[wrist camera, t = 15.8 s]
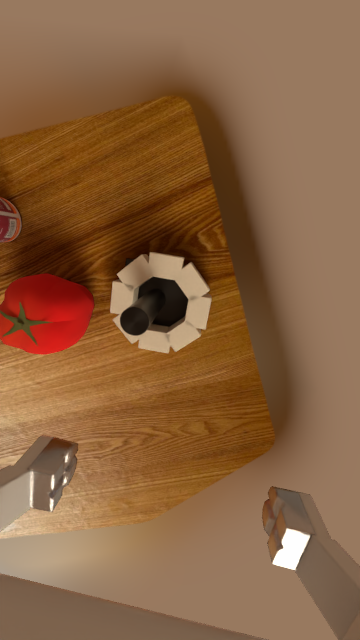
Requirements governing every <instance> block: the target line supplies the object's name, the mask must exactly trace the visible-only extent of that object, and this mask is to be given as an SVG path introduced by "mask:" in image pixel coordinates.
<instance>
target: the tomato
mask: <svg viewBox="0 0 360 640" xmlns="http://www.w3.org/2000/svg"><path fill="white" fill-rule="evenodd" d="M93 308H94V299H93V295H92V294H91V293H90V291H89V290H88V289H87V288H86V287H85V286H83V285H80V284H77V283H74V282H71V281H68V280H66V279H63V278H60V277H58V276H55V275H51V274H48V273H44V274H38V275H32V276H26V277H23V278H19V279H17V280H15V281H14V282H12V283H11V284H10V285H9V287H8V288H7V290H6V291H5V299H4V301H3V302H2V304H1V305H0V339H1V340H2V342H3V343H4V344H6V345H9V346H13V347H17V348H20V349H23V350H25V351H26V352H29V353H33V354H50V353H54V352H59V351H62V350H64V349H67V348H69V347H70V346H72V345H74V344H75V343H77V342H78V340H79V339H80V338H81V337H82V336H83V335H84V333H85V331H86V329H87V327H88V324H89V322H90V319H91V315H92V312H93Z"/></svg>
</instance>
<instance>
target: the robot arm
mask: <svg viewBox="0 0 360 640" xmlns="http://www.w3.org/2000/svg"><path fill="white" fill-rule="evenodd" d="M77 451H78V444H77V443H75V442H71V441H67V440H63V439H59V438H54V437H50V436H46V435H42V436H40V437H39V438H38V439H37V440H36V441H35V442H34V444H33V445H32V446H31V447H30V448H29V449H28V450H27V451H26V453H25V454H24V455H23V456H22V457H21V458H20V459H19V460H18V461H17V463H16V464H15V465H14V466H10V465H9V466H7V467H5V468H3V469H1V470H0V531H2V530H3V529H4V528H6V527H7V526H8V525H10V524H11V523H12V522H14V521H15V520H16V519H18V518H19V517H20V516H22V515H23V514H24V513H26V512H27V511H28V510H30V508H34V509H39V510H44V511H49V512H53V510H54V508H55V506H56V505H57V503H58V501H59V500H60V498H61V496H62V490H63V488H64V487H65V486H67V485H68V484H69V482H70V481H71V479H72V477H73V474H74V472H75V469H76V465H77V458H76V456H75V454H76V453H77ZM268 495H269V499H268V500H266V501H265V503H264V506H263V512H262V519H263V526H264V530H265V531H266V533H267V534H268V535H269V540H268V543H267V544H268V548H269V552H270V557H271V561H272V564H274V565H278V566H281V567H285V568H288V569H292V570H296V574H297V575H298V577H299V578H300V580H301V581H302V583H303V584H304V586H305V588H306V589H307V591H308V592H309V594H310V596H311V597H312V599H313V600H314V602H315V604H316V605H317V607H318V608H319V610H320V611H321V613H322V614H323V616H324V618H325V619H326V621H327V622H328V624H329V625H330V627H331V629H332V630H333V632H334V633H335V635H336V637H337V638H338V640H360V566H359V565H358V564H357V563H356V562H355V561H354V560H353V558H352V557H351V556H350V555H349V554H348V553H347V552H346V551H345V550H344V549H343V548H342V547H341V546H340V545H339V544H338V543H337V542H336V541H335V540H332V539H331V537H330V535H329V533H328V531H327V529H326V527H325V524H324V522H323V520H322V518H321V516H320V513H319V511H318V509H317V507H316V505H315V503H314V501H313V498H312V497H311V495H310V494H305V493H301V492H295V491H291V490H287V489H282V488H277V487H273V486H272V487H271V488H270V489H269V492H268ZM0 640H267V639H263V638H259V637H255V636H250V635H247V634H243V633H239V632H235V631H231V630H227V629H223V628H219V627H215V626H210V625H206V624H202V623H198V622H194V621H190V620H186V619H182V618H178V617H174V616H170V615H166V614H162V613H157V612H154V611H150V610H145V609H142V608H138V607H134V606H130V605H126V604H121V603H117V602H113V601H109V600H105V599H101V598H97V597H93V596H89V595H85V594H81V593H77V592H73V591H69V590H65V589H61V588H57V587H53V586H49V585H44V584H41V583H37V582H32V581H29V580H25V579H20V578H17V577H13V576H8V575H4V574H0Z"/></svg>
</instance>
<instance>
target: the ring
mask: <svg viewBox="0 0 360 640" xmlns="http://www.w3.org/2000/svg"><path fill="white" fill-rule="evenodd" d="M184 260H185V257H180V256H174V255H168V254H162V253H156V252H150V255H149V257H148V255H147V254H142V255H140V256H139V257H138V258H136V259H135V260H134V261H133V262H131V263H130V264H129V265H127V266H126V267H125V268H124V269H122V270H121V271H120V272H119V273H117V276H118V277H119V278H120V279H118V280H115V281H113V283H112V295H111V308H110V313H116V314H119V315H118V316H117V317H115V318H114V319H113V321H114V322H115V324H116V325H117V326H118V327H119V329H120V330H121V331H122V332H123V334H124V335H125V336H126V338H127V339H128V340H129V341H130V343H131V344H133V343H134V342H136V341H137V340H139V346H138V348H142V349H147V350H153V351H158V352H164V353H169V350H170V346H171V347H172V348H173V349H174V351H175V352H176V351H178V350H180V349H181V348H183V347H184V346H186V345H187V344H189V343H190V342H192V341H194V340H195V339H197V338H198V337H200V336H201V329H206V324H207V319H208V314H209V309H210V304H211V295H210V294H205V293H207V292H208V291H210V289H209V286H208V285H207V283H206V282H205V280H204V279H203V277H202V276H201V275H200V273H199V272H198V270H197V269H196V267H195V266H194V264H193V263H192V262H190V263H189V264H187V265H186V266H185V267H183V266H184ZM152 277H159V278H164V279H170V280H175V281H176V283H177V284H178V285H179V287H180V288H181V290H182V291H183V292H184V294H185V295H186V297H187V298H188V305H187V310H186V316H185V317H183V318H182V319H180V320H179V321H177V322H176V323H174V324H173V325H171V326H170V327H167V326H161V325H156V324H151V325H150V326H149V328H148V329H147V331H146V332H145V333H143V334H141V335H138V336H133V335H130V334H128V333H126V332H125V331H124V330H123V329H122V327H121V324H120V316H121V314H122V312H123V311H124V310H125V309H127V308H128V307H129V306H130V305H132V304H133V303H134V302H136V301H137V300H138V293H139V287H140V286H141V285H142V284H144V283H145V282H146V281H148V280H149V279H150V278H152Z"/></svg>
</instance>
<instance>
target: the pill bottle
mask: <svg viewBox="0 0 360 640" xmlns="http://www.w3.org/2000/svg"><path fill="white" fill-rule="evenodd" d="M21 227H22V222H21V217H20V214H19V212H18V210H17V209H16V207H15V206H14V205H13V204H12V203H11V202H9V201H8V200H6V199H4V198H1V197H0V242H10V241H12V240H14V239H15V238H16V237H17V236H18V235H19V233H20V231H21Z"/></svg>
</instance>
